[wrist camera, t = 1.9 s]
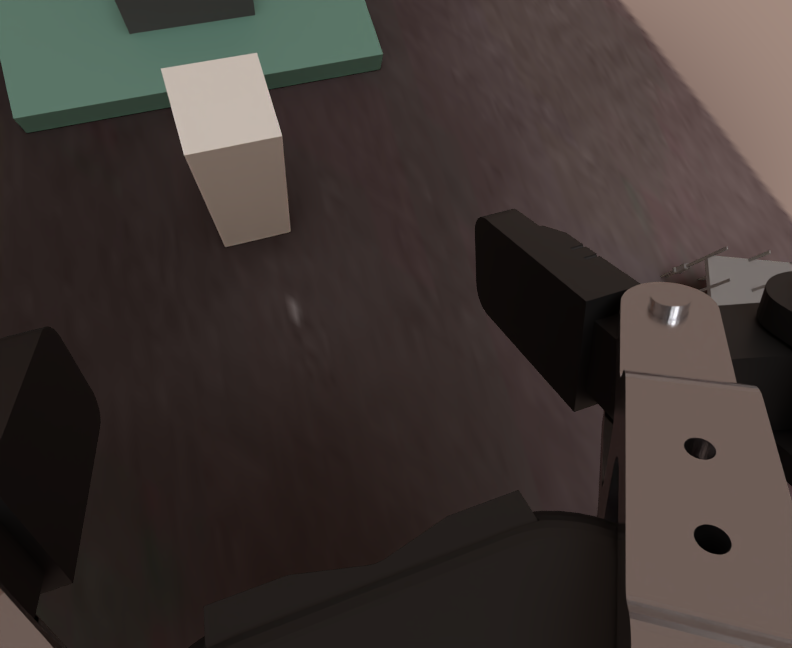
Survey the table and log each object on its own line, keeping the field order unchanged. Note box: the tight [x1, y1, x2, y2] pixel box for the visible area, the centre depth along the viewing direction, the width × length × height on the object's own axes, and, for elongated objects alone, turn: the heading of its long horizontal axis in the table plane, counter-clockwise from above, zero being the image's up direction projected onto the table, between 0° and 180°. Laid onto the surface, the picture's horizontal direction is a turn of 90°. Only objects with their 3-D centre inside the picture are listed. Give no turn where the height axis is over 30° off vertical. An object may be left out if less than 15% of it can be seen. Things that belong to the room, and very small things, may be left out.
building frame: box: [660, 247, 792, 306], centre depth 34 cm, size 6×8×6 cm
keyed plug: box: [161, 53, 291, 247], centre depth 28 cm, size 5×4×11 cm
